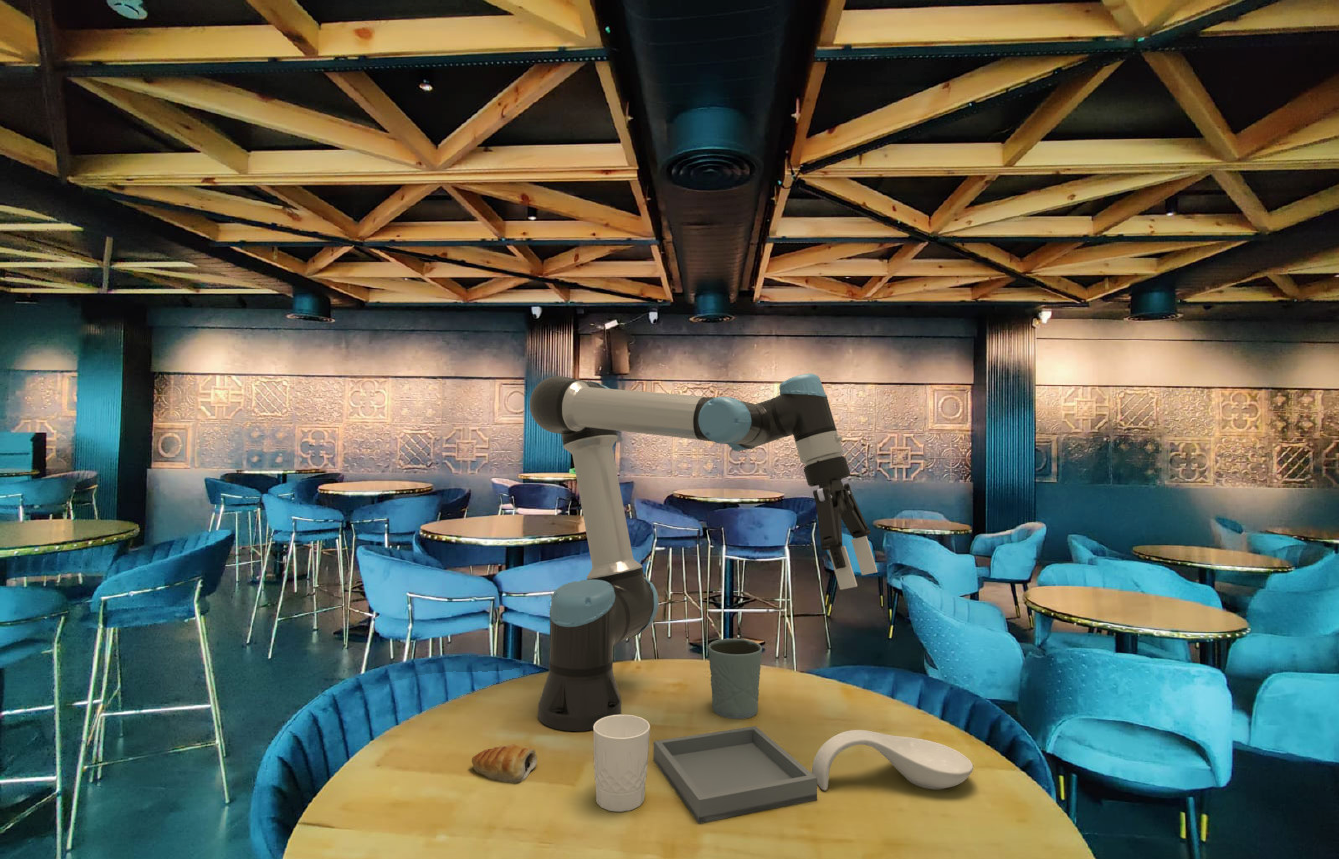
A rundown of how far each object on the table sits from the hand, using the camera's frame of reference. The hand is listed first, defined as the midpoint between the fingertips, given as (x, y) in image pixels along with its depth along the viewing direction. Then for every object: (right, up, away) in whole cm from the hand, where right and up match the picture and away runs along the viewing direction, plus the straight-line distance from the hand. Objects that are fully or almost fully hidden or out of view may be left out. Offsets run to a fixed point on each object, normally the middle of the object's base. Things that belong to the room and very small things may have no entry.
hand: (859, 580), depth 107 cm
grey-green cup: (-20, -28, +12) cm, 36 cm away
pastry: (-57, -26, -13) cm, 64 cm away
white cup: (-39, -26, -20) cm, 51 cm away
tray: (-23, -26, -14) cm, 38 cm away
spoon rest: (+1, -27, -13) cm, 30 cm away
